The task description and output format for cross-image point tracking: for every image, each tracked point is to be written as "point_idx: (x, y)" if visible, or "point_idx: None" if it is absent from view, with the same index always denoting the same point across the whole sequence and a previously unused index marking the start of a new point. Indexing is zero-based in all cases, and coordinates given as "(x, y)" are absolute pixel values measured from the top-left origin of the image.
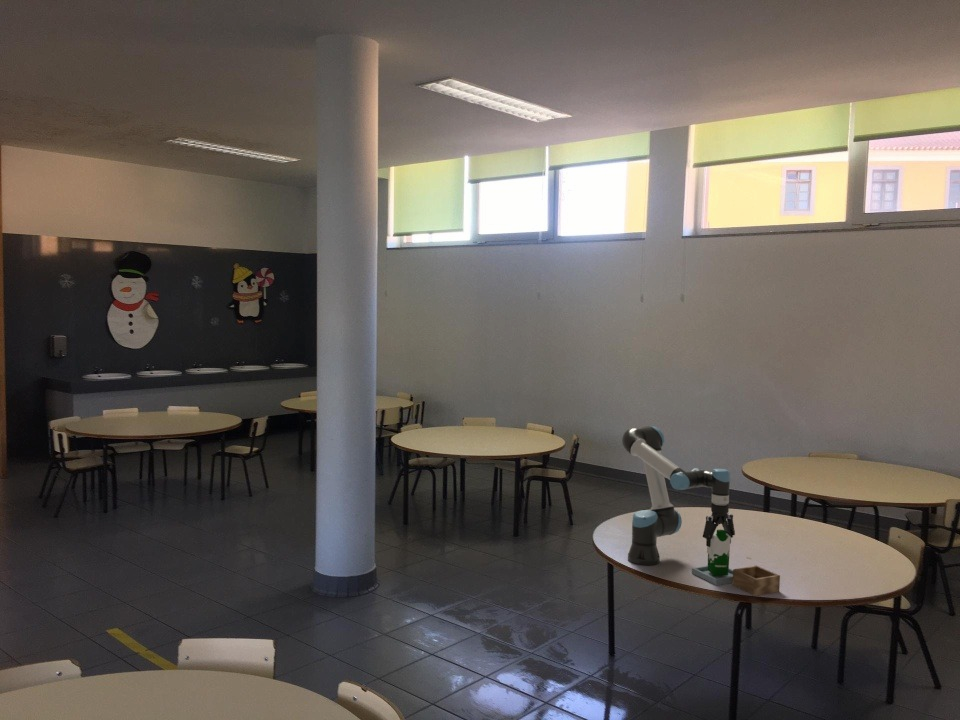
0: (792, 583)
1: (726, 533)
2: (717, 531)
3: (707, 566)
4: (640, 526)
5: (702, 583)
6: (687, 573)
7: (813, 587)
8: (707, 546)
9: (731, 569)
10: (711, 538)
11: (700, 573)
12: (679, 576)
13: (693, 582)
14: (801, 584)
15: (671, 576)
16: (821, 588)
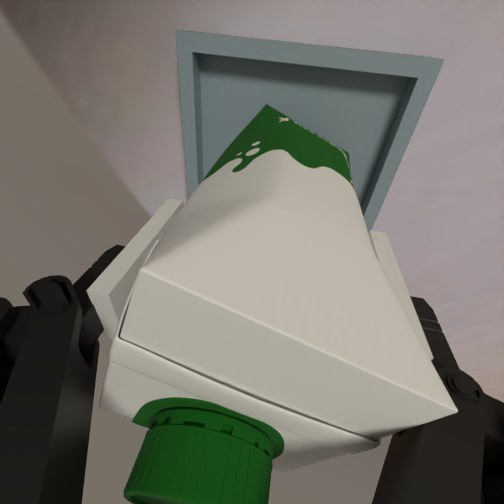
0: (475, 345)
1: (350, 449)
2: (126, 485)
3: (305, 63)
4: None
5: (157, 183)
6: (162, 15)
7: (482, 381)
8: (141, 233)
9: (386, 190)
10: (96, 353)
11: (185, 127)
12: (87, 39)
13: (123, 154)
14: (487, 360)
15: (37, 11)
16: (490, 393)
